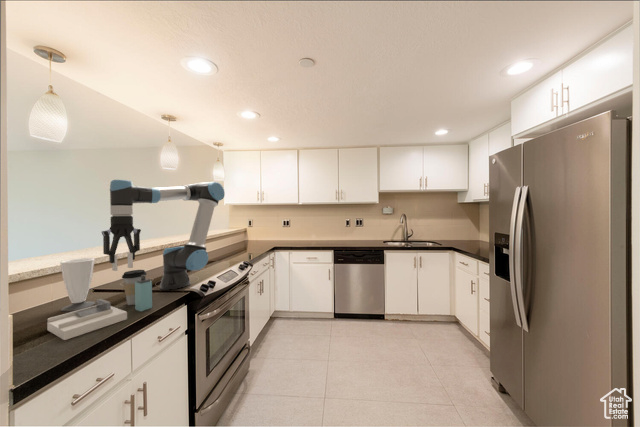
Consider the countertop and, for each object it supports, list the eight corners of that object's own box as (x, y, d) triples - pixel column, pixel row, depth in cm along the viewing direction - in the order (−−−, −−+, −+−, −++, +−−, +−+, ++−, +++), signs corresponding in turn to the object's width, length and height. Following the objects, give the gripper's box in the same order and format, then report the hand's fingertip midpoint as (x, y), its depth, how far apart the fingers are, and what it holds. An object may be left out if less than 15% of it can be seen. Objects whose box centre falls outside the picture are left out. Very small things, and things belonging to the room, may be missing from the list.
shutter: (100, 307, 101) (100, 298, 101) (110, 311, 97) (110, 302, 97) (75, 314, 94) (75, 304, 94) (85, 318, 90) (85, 308, 90)
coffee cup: (133, 307, 109) (132, 274, 109) (116, 305, 111) (116, 273, 111) (151, 299, 119) (151, 269, 119) (136, 298, 121) (135, 269, 121)
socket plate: (108, 312, 104) (108, 301, 104) (127, 319, 97) (126, 308, 97) (47, 330, 88) (47, 318, 88) (64, 340, 81) (64, 327, 81)
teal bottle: (146, 305, 111) (146, 273, 111) (152, 307, 109) (151, 274, 109) (135, 309, 107) (134, 276, 107) (140, 311, 105) (140, 277, 105)
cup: (52, 312, 105) (52, 263, 105) (74, 303, 116) (73, 258, 116) (83, 310, 107) (83, 261, 107) (101, 300, 118) (101, 257, 118)
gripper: (140, 215, 114) (141, 264, 114) (91, 216, 98) (91, 272, 98) (149, 215, 110) (150, 265, 110) (99, 215, 94) (100, 274, 94)
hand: (122, 268), depth 104 cm, fingers open, 5 cm apart
